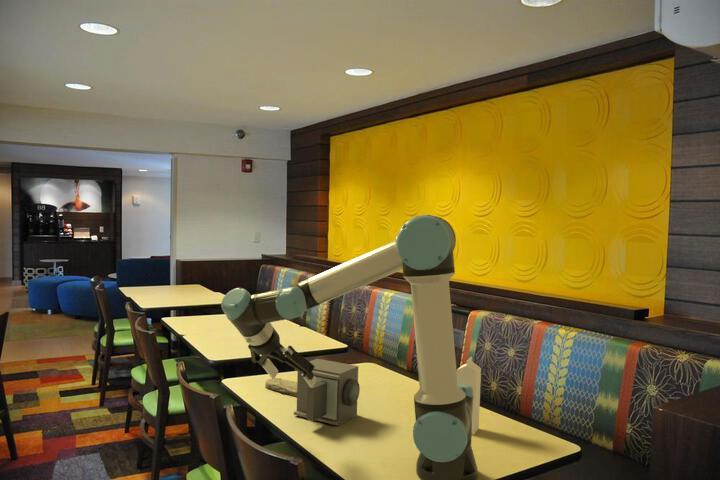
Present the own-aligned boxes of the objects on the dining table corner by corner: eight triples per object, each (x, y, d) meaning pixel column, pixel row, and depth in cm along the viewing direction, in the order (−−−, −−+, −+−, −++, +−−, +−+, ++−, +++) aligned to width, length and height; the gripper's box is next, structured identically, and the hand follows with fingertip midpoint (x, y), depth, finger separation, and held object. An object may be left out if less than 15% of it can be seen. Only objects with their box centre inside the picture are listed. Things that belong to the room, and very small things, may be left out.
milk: (454, 431, 167) (456, 359, 166) (460, 425, 173) (462, 355, 172) (474, 435, 164) (476, 362, 164) (479, 428, 170) (481, 357, 169)
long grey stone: (276, 386, 212) (259, 394, 203) (275, 373, 211) (258, 380, 203) (354, 399, 194) (338, 408, 185) (353, 384, 193) (338, 393, 185)
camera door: (336, 419, 169) (337, 380, 168) (322, 427, 162) (323, 386, 162) (312, 413, 173) (313, 375, 173) (297, 420, 166) (298, 381, 166)
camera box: (362, 416, 177) (363, 367, 177) (341, 428, 166) (343, 376, 166) (316, 405, 186) (317, 358, 186) (293, 416, 176) (294, 366, 175)
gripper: (217, 340, 147) (254, 382, 161) (292, 354, 135) (324, 399, 148) (232, 317, 152) (266, 360, 165) (306, 329, 139) (336, 375, 153)
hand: (294, 379), depth 157 cm, fingers open, 13 cm apart
